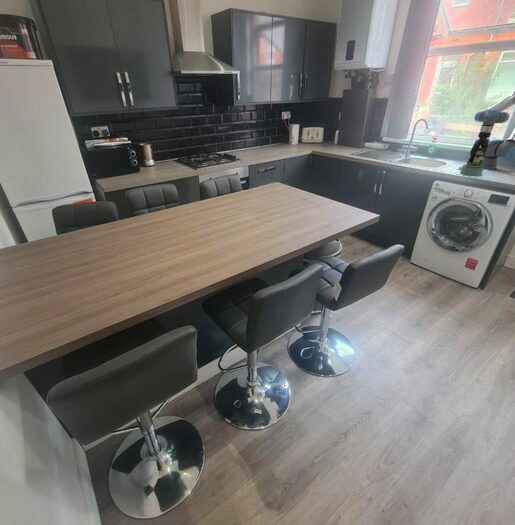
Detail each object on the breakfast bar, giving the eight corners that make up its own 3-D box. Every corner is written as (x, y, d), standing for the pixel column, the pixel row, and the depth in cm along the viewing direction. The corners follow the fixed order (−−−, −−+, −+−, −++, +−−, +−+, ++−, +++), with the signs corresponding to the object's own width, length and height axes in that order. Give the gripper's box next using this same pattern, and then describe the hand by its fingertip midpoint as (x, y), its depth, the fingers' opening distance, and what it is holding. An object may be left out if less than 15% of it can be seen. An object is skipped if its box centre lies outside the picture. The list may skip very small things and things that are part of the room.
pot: (465, 171, 250) (468, 163, 247) (484, 174, 239) (487, 166, 236) (456, 173, 243) (459, 165, 240) (475, 176, 232) (478, 169, 229)
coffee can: (481, 167, 232) (488, 149, 225) (466, 166, 236) (472, 148, 229) (480, 165, 240) (486, 147, 233) (465, 164, 244) (471, 146, 237)
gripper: (481, 133, 218) (470, 163, 229) (499, 131, 226) (488, 161, 237) (471, 132, 224) (461, 162, 235) (489, 130, 232) (478, 159, 243)
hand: (474, 161), depth 236 cm, fingers closed on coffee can, 10 cm apart
